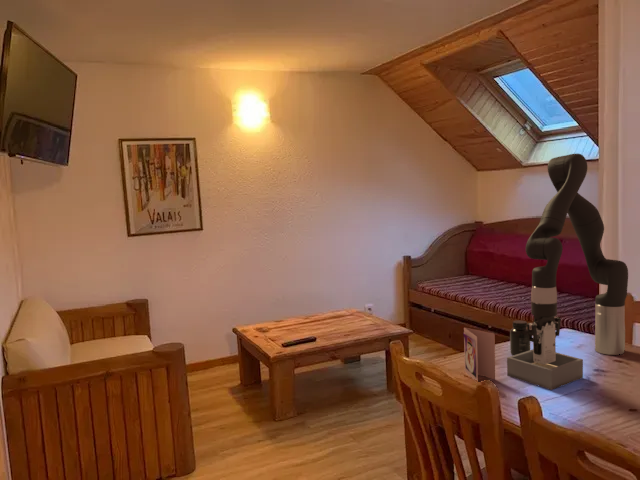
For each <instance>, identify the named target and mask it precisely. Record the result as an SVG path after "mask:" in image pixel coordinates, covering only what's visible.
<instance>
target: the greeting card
mask: <svg viewBox="0 0 640 480" xmlns="http://www.w3.org/2000/svg"><path fill="white" fill-rule="evenodd" d="M462 335H463V344H464V348H463V350H464V351H463V352H464V354H463V355H464V356H463V357H464V372H465V373H466V374H467V375H468V376H469V377H470V378H471V377H472V378H471V379H472V380H474V379H475V380H477V381H478V382H479V376H480V375H482V376H481V377H484V376H486V377H485V378H488V379H491V380H492V379H493V380H496V349H495V348H496V345H495V344H496V343H495V341H496V339H495V338H496V337H495V336H496V335H495V333H494V332H489V331H483V330H479V329H474V328H469V327H463V333H462ZM475 380H474V381H475Z"/></svg>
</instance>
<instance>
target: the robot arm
mask: <svg viewBox="0 0 640 480" xmlns="http://www.w3.org/2000/svg"><path fill="white" fill-rule="evenodd" d="M547 173H548V176H549V179H550V181H551V183H552V185H553V187H554V188H555V191H556V194H555V195H554V196H552V198H551V199H550V200H549V201H548V202H547V203H546V204H545V207H544V209H543V212H542V214H541V218H540V221H539V224H538V225H537V226H536V228H535V229H534V230H533V232H532V233H531V235H530V236H529V238H527V241H526V244H525V254H526V255H527V257H528V258H530V259H532V260H541V261H543V260H544V261H546V263H545V265H543V266H542V265H541V266H537V267H534V268H533V269H532V271H531V294H530V298H531V299H530V303H531V304H530V308H531V309H530V311H531V312H530V314H531V315H532V316H533V317H534V320H533V322H527V329H528V339H529V341H530V343H531V342H532V344H533V343H534V353H535V354H537V355H541V341H542V337H543V330H542V332H541V333H537V330H541V329H542V326H544V327H547V328H548V325H551V326H553V325H554V324H555V340H556V338H557V337H559V336H560V332H561V331H560V330H561V319H562V318H561V317H558V316H557V315H558V289H557V271H558V267H559V264H560V260H561V257H562V255H563V249H564V248H563V244H562V242H561V240H560V239H559V238H557V237H556V236H559V235H560V234H562V231H563V229H564V225H565V223H566V220H567V219H566V218H567V215H568V217H569V221H570V222H571V225H572V228H573V230H574V233H575V235H576V237H577V239H578V241H579V244H580V247H581V250H582V252H583V255H584V257H585V261H586V267H587V268H588V272H589V275H590V277H591V279H592V280H593V282H594V283H597V284H599V285H604V286H607V289H606V292H604V293H601V294H600V293H599V294H597V295H596V296H595V299H594V301H595V303H594V304H595V320H594V321H595V324H594V325H595V327H594V330H595V331H594V335H595V339H594V341H595V342H594V345H595V346H594V347H595V348H594V350H595V351H596V352H597V353H599V354H602V355H603V354H604V355H609V356H615V355H616V356H619V354H620V355H623V354H624V353H625V351H624V350H626V346H625V345H626V324H625V320H626V319H625V317H626V316H625V312H626V311H625V309H626V307H625V306H626V299H627V296H628V283H629V269H628V265H627V264H626V262H624V261H622V260H617V259H609V258H606V257H605V256H604V253H603V251H602V247H601V242H602V239H603V237H604V232H605V225H604V221H603V219H602V217H601V214H600V211H599V210H598V209H597V207H596V206H595V205H594V204H593V203H592V202H590V201H589V200H588V199H587V198H585V197H584V196H583V195H581V194H580V193H579V191H580V188H581V186H582V184H583V183H584V180H585V178H586V176H587V173H588V161H587V159H586V157H585V156H584V155H583V154H581V153H571V154H567V155H561V156H556V157H552V158H551V159H550V160H549V161H548V164H547ZM537 335H538V336H539V338H538V339H537Z"/></svg>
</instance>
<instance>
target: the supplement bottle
mask: <svg viewBox="0 0 640 480" xmlns="http://www.w3.org/2000/svg"><path fill="white" fill-rule="evenodd" d="M527 324H528V322H527V321H525V320H520V319H519V320H513V321H512V328H511V329H510V331H509V344H510V345H509V346H510V347H509V348H510V350H509V352H510V354H511V356H514V355H517V354H520V353H523V352H526V351H529V350H531V341H529V339H528V329H527Z"/></svg>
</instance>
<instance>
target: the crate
mask: <svg viewBox="0 0 640 480" xmlns="http://www.w3.org/2000/svg"><path fill="white" fill-rule="evenodd" d="M506 368H507V369H506V371H507V374H506V375H507V377H511V378H514V379H517V380H520V381H522V382H525V381H526V383H529V384H532V385H536V386H538V385H539V387H542V388H544V389H547V390H550V391H553V390H555V389H558V388H561V387H564V386H565V385H568V384H572V383H573V382H575V381H579V380H581V379H583V378H584V359H582V358H578V357H576V356H570V355H567V354H563V353H560V352H556V361H554V362H551V363H548V364H545V365H544V364H540V363H536V362H534V361H533V349H530V350H529V351H526V352H523V353H520V354H517V355H510V356H508V357H506Z"/></svg>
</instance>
